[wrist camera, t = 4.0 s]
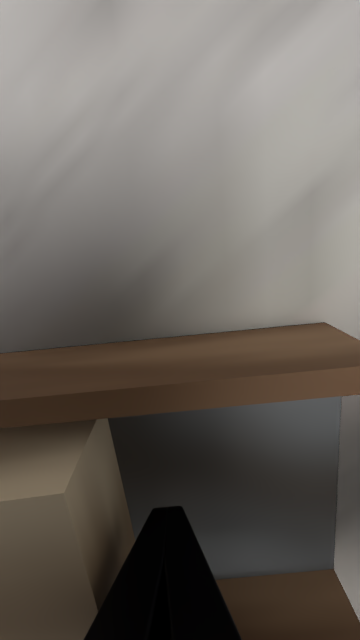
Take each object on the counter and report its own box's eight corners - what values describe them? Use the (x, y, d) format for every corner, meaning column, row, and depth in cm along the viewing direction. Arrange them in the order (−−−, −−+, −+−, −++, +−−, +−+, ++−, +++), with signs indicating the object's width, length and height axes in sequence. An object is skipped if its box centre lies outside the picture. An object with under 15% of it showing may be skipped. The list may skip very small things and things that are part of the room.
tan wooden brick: (144, 580, 10) (131, 726, 7) (67, 589, 10) (21, 739, 7) (104, 402, 8) (63, 492, 5) (13, 415, 8) (-79, 511, 5)
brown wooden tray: (318, 552, 11) (385, 694, 7) (-163, 596, 11) (-317, 757, 7) (325, 322, 9) (423, 373, 5) (-274, 379, 9) (-559, 466, 5)
